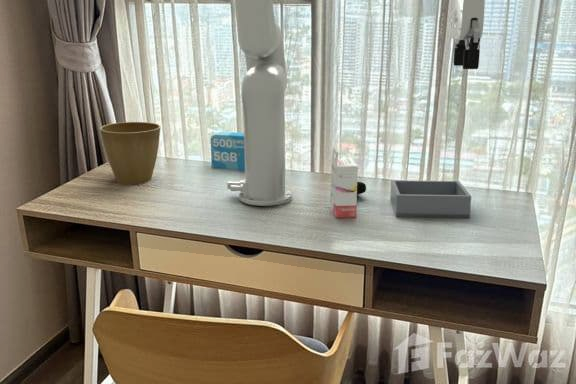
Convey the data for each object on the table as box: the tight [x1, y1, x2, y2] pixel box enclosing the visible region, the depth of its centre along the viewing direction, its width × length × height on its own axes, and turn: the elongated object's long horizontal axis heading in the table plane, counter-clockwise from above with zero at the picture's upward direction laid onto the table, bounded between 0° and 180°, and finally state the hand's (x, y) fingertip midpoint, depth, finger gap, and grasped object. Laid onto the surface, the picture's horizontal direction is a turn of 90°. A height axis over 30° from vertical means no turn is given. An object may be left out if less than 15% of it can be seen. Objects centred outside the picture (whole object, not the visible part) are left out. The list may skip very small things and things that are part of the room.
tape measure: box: [357, 181, 367, 196], centre depth 147 cm, size 7×7×4 cm
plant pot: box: [99, 121, 161, 186], centre depth 157 cm, size 15×15×16 cm
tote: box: [389, 179, 472, 219], centre depth 139 cm, size 16×13×5 cm
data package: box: [210, 131, 245, 172], centre depth 168 cm, size 12×4×12 cm, turn 73°
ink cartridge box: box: [329, 145, 359, 219], centre depth 135 cm, size 9×5×15 cm, turn 4°
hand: (465, 67), depth 134 cm, fingers open, 9 cm apart
